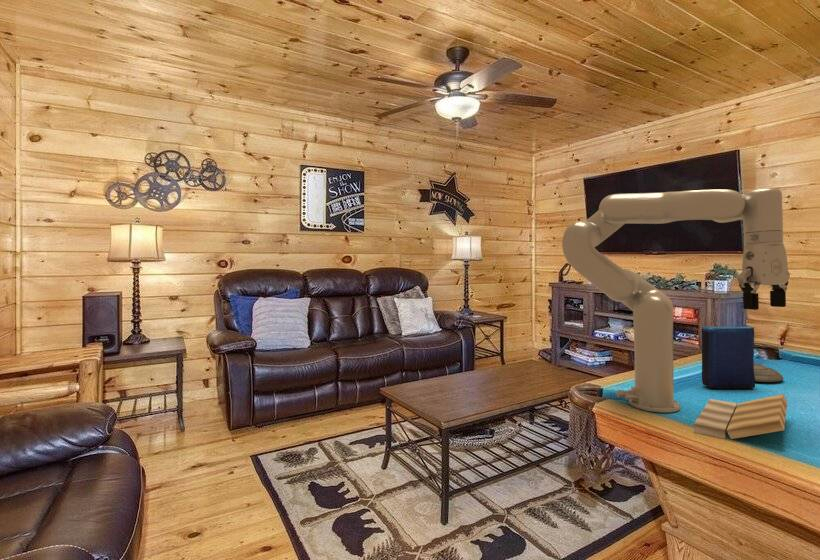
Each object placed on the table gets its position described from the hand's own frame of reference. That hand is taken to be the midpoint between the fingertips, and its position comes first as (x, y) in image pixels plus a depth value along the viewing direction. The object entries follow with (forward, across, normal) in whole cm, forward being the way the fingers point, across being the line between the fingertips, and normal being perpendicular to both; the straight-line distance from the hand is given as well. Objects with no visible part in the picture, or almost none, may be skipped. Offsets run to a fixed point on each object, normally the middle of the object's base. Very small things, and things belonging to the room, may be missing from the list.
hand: (764, 307), depth 107 cm
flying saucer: (+29, +38, +28) cm, 55 cm away
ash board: (+28, -11, +5) cm, 31 cm away
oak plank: (+26, -7, -3) cm, 27 cm away
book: (+29, +19, +23) cm, 41 cm away
